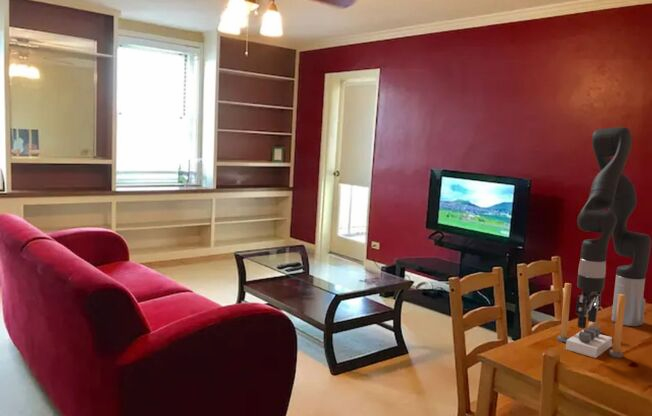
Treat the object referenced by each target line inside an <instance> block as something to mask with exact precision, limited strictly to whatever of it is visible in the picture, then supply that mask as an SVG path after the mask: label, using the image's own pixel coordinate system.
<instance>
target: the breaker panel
mask: <svg viewBox="0 0 652 416" xmlns="http://www.w3.org/2000/svg"><path fill="white" fill-rule="evenodd" d="M584 330H585V329H582V330H580V331H579V332H577V333H576V334H574V335H572V336H571V337H569V339H567V340H566V344H565V350H567V351H570V352H573V353H577V354H580V355H583V356H587V357H591V358H595V359H596V358H598V357H599V356H601V355H602V354H604V352H605V351H607V350H608V349H610V348H611V347H612V345H613V344H612V343H613V337H612V336H608V335H604V334H601V333H600V335H599V336H598V337H597V336H596V337H595V339H594V340H593V339H591V341H590V342H589V343H587V342H584V341H580V340H579V333H580V332H581V331H582V332H584Z"/></svg>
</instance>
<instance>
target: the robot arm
mask: <svg viewBox="0 0 652 416" xmlns="http://www.w3.org/2000/svg"><path fill="white" fill-rule="evenodd" d="M591 143H592V144H591V145H592V150H593V152H594V156H595V160H596V162H597V165H598V169H599V172H598V173H597V174H596V176H595V177H594V178H593V181H592V184H591V187H590V191H589V197H588V199H587V201H586V202H585V204H584V206H583V207H582V209H580V212H579V213H578V216H577V220H576V222H577V223H576V224H577V227H578V228H579V230H581V231H583V232H588V233H596V234H597V233H599V234H601V236H600V237H598V238H590V239H584V240H583V241H582V243H581V249H580V259H579V264H578V271H577V272H578V273H577V280H576V281H577V282H576V286H577V288H579V289H580V290H581V291H582V292H581V294H580V295H579V294H578V295H577V296H576V303H575V313H574V314H575V315H576V316H578V317H577V327H578V328H579V329H582V330H585V328H586V327H587V321H588V322H595V321H596V320H597V319H596V314H597V311H598V310H599V307H601V303H602V302H601V301H602V292H603V291H604V290H605V283H606V282H605V281H606V273H607V272H606V271H607V251H608V247H609V242H610V239H611V237H612V241H613V247H614V251H615V253H616V254H617V255H619V256H621V257H624V258H625V257H626V258H630V259H631V258H632V259H633V260H632V262H631V263H630V264H625V265H619V266H617V268H616V272H615V273H616V274H615V280H614V281H615V283H614V291H613V300H612V302H613V303H612V312H611V322H614V323H615V322H616V313H617V303H618V294H623V295H626V299H625V309H624V318H623V326H629V327H638V326H643V325H644V317H645V316H644V315H645V306H646V299H645V298H644V291H645V285H646V284H645V283H646V275H647V271H648V268H649V267H648V266H649V260H650V255H651V248H652V240H651V236H649V234H647V233H640V232H635V231H630V230H628V227H627V222H628V219H629V218H630V216H631V215H632V213H633V212H634V210H635V209H636V207H637V203H638V200H637V194H636V188H635V185H634V183H633V182H632V181H631V179H630V178H629V177H628V176H627V175H626V174H625V173H624V172H623V171H624V169H625V168H624V167H625V165H626V163H627V160H628V158H629V155H630V152H631V149H632V144H633V136H632V133H631V130H630V129H629V128H628V127H626V126H618V127H606V128H598V129H595V130H594V131H593V132H592V137H591ZM611 157H612V158H611ZM596 310H597V311H596Z"/></svg>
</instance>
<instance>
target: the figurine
mask: <svg viewBox="0 0 652 416" xmlns="http://www.w3.org/2000/svg"><path fill="white" fill-rule="evenodd" d="M598 309H601V311H602V312H603V313H604V314H605V316H606V317H607V315H608V314H607V313H606V311H605V310H604V308H603V307H602V306H600V307H598ZM596 311H597V314H596V321H595V322H590V321H588V324H587V329H588V328H589V326H590V325H591V326H595V327H599V328H600V329H601V327H602V325H601V323H600V322H598V320H597V319H598V317H599V312H598V310H596Z"/></svg>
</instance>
